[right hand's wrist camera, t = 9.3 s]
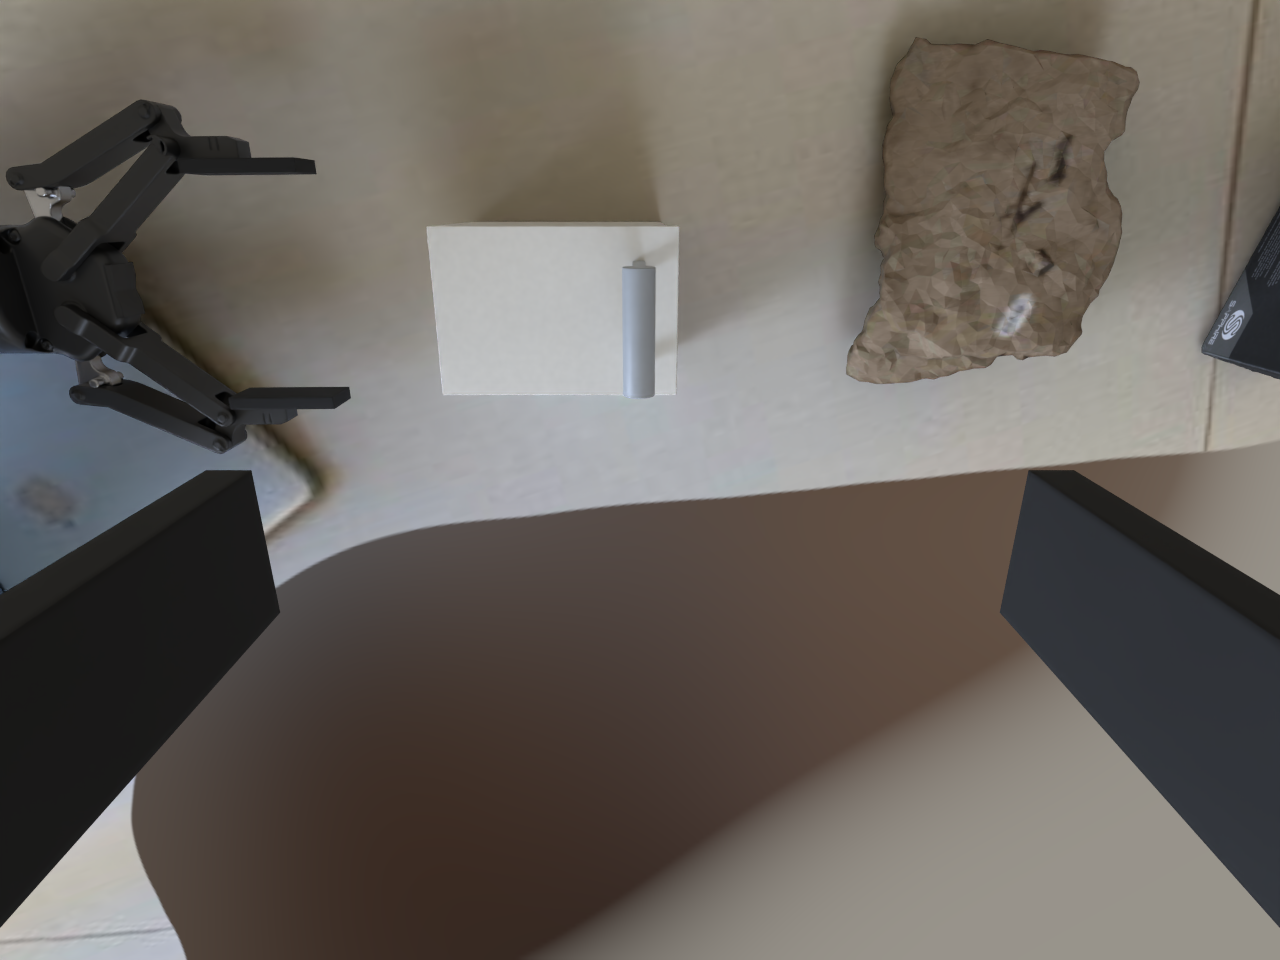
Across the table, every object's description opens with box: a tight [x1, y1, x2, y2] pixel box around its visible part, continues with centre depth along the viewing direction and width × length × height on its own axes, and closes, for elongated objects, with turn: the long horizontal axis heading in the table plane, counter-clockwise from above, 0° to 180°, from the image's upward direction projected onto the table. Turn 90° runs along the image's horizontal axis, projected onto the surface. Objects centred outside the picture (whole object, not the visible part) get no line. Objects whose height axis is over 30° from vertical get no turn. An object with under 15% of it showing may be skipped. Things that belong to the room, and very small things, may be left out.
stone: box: [846, 37, 1140, 384], centre depth 46 cm, size 21×15×6 cm
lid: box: [426, 226, 680, 399], centre depth 37 cm, size 13×9×8 cm
